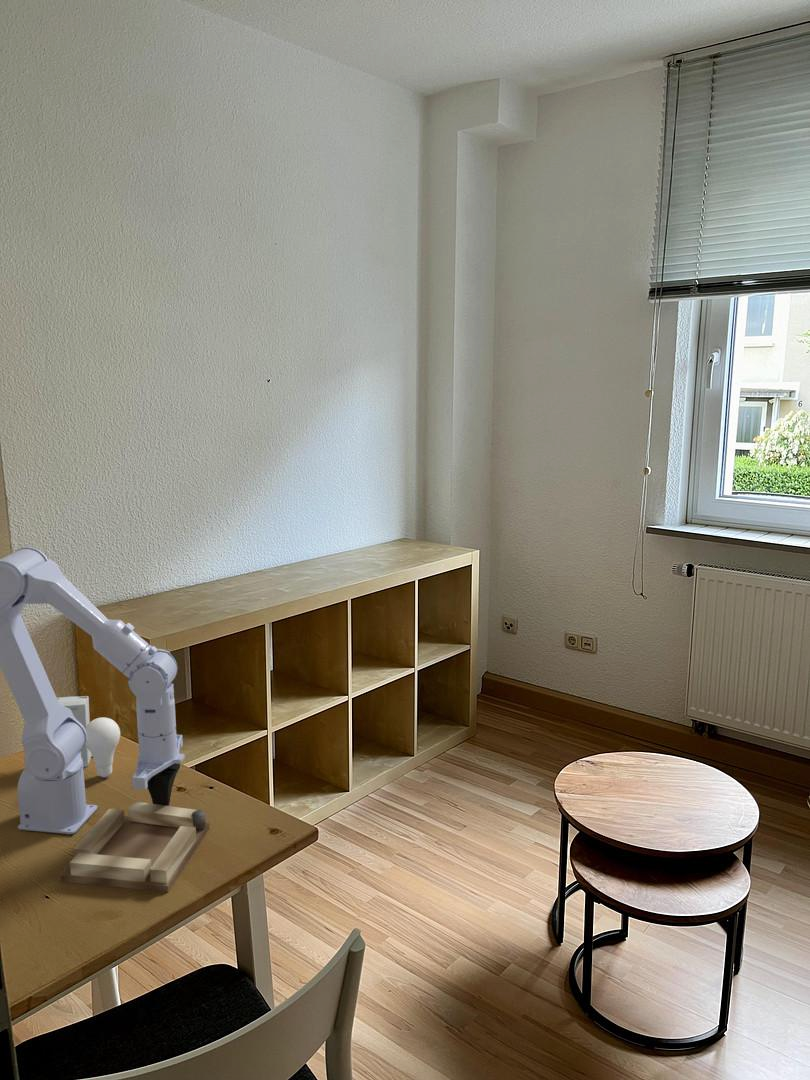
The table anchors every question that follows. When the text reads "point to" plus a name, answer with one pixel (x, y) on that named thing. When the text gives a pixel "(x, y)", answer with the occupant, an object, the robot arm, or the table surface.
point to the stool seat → (132, 854)
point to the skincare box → (79, 718)
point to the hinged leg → (166, 815)
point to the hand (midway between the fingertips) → (161, 807)
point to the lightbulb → (102, 743)
